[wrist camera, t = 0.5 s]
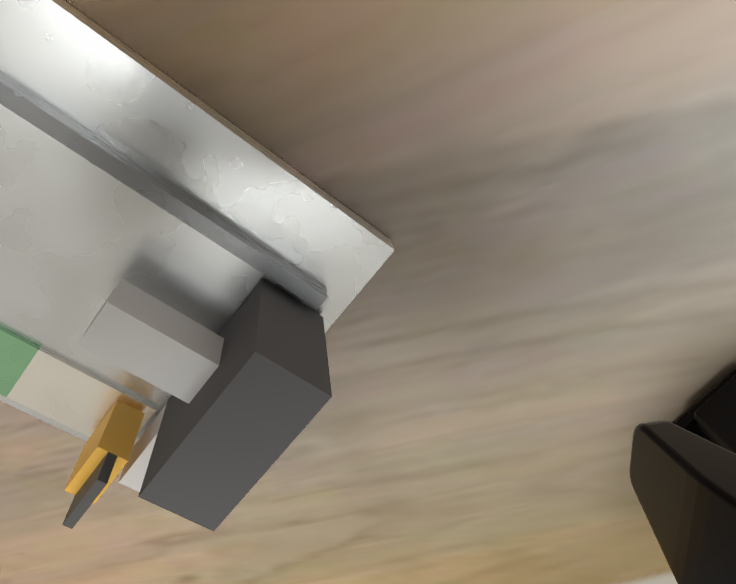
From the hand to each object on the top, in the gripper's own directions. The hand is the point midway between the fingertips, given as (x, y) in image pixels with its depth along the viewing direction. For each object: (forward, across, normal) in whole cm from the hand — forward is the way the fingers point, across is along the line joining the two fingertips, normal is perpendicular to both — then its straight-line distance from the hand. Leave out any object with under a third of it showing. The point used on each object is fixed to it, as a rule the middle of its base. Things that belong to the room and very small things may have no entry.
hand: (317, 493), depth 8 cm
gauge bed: (+13, +7, 0) cm, 15 cm away
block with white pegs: (+12, +5, +4) cm, 13 cm away
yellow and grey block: (+11, +8, +6) cm, 15 cm away
